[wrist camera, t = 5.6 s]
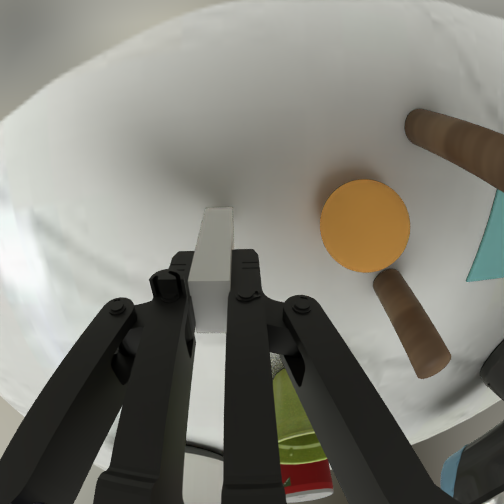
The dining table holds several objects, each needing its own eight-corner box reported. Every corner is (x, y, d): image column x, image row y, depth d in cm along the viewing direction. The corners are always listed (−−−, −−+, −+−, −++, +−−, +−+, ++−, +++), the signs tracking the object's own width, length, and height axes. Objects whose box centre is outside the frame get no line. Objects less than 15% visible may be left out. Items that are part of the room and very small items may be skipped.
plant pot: (244, 393, 30) (246, 463, 23) (278, 343, 26) (289, 429, 18) (316, 401, 32) (327, 463, 25) (359, 356, 28) (383, 427, 20)
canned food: (275, 429, 36) (281, 497, 27) (328, 424, 37) (341, 489, 27) (270, 445, 40) (274, 504, 31) (317, 442, 41) (326, 498, 31)
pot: (250, 475, 52) (252, 526, 40) (155, 472, 53) (150, 519, 41) (220, 422, 35) (220, 514, 23) (80, 413, 35) (62, 485, 24)
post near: (436, 112, 15) (536, 149, 7) (432, 148, 16) (525, 200, 9) (406, 105, 15) (508, 136, 7) (402, 142, 16) (496, 195, 9)
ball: (400, 212, 12) (303, 180, 15) (376, 305, 15) (298, 265, 18) (428, 185, 15) (351, 162, 18) (409, 262, 18) (344, 234, 21)
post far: (404, 268, 22) (457, 349, 14) (395, 292, 23) (440, 374, 15) (377, 269, 22) (427, 357, 14) (370, 295, 23) (411, 382, 15)
